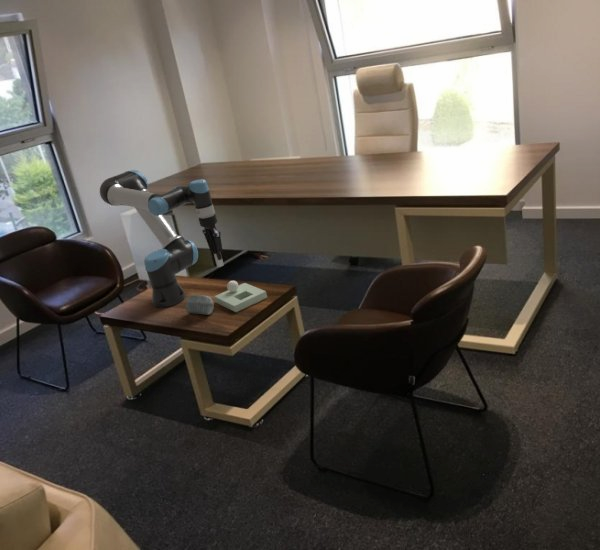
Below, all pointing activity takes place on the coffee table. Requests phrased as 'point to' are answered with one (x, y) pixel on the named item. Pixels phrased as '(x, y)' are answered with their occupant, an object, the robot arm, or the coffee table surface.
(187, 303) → the grey streaked egg
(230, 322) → the coffee table surface
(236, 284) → the ball
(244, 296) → the green board
